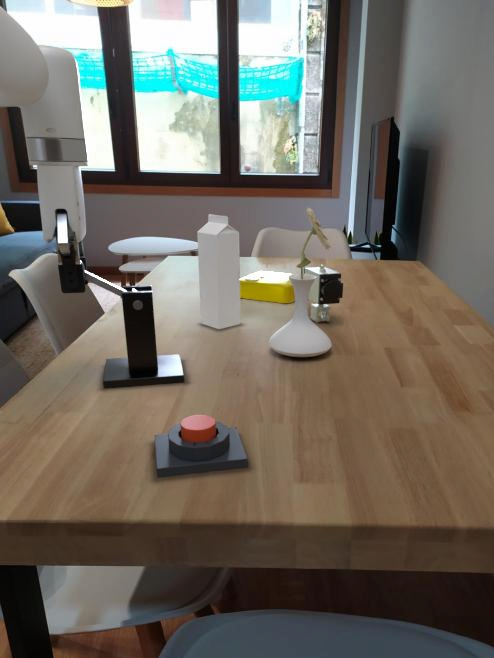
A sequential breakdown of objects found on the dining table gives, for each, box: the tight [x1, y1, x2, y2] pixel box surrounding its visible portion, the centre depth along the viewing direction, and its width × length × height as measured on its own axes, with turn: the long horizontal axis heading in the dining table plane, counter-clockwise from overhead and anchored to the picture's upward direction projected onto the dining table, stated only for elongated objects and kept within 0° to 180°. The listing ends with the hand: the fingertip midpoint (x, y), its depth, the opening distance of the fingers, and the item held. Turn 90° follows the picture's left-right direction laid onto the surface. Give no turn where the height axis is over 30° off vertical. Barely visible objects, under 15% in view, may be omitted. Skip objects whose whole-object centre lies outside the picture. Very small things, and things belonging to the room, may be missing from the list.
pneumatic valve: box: [303, 264, 344, 324], centre depth 116 cm, size 6×12×12 cm, turn 21°
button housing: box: [154, 420, 249, 479], centre depth 63 cm, size 10×8×3 cm
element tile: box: [240, 270, 295, 304], centre depth 139 cm, size 15×15×5 cm
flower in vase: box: [268, 206, 333, 358], centre depth 95 cm, size 13×11×25 cm
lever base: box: [102, 284, 185, 389], centre depth 85 cm, size 12×10×14 cm
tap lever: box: [80, 261, 138, 298], centre depth 81 cm, size 13×3×3 cm, turn 104°
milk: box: [196, 213, 241, 330], centre depth 110 cm, size 6×6×22 cm
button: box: [180, 414, 217, 443], centre depth 63 cm, size 4×4×2 cm
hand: (75, 287), depth 80 cm, fingers open, 4 cm apart
